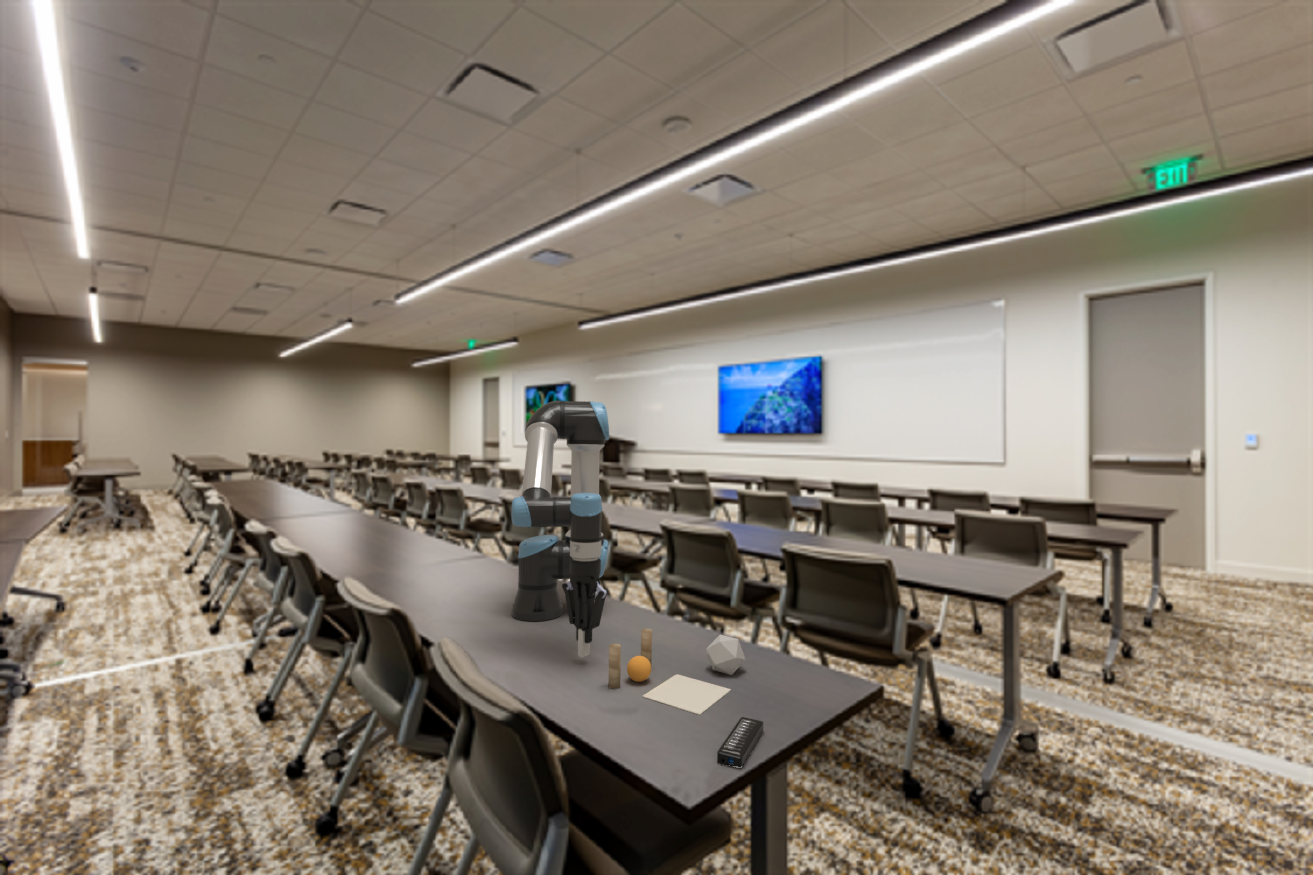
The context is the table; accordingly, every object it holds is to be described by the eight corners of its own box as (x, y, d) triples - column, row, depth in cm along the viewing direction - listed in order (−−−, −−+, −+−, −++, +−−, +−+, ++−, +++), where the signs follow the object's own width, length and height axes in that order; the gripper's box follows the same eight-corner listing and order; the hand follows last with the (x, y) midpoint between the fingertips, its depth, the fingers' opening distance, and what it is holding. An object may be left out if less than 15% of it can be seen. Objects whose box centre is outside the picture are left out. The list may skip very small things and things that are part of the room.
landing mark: (676, 674, 140) (676, 674, 140) (731, 690, 132) (731, 689, 132) (642, 696, 128) (642, 695, 128) (699, 715, 121) (699, 714, 121)
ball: (632, 661, 141) (645, 647, 139) (647, 681, 139) (660, 667, 137) (618, 670, 136) (630, 655, 134) (633, 690, 134) (646, 676, 132)
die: (751, 672, 144) (738, 633, 149) (745, 666, 137) (732, 625, 142) (718, 683, 145) (707, 643, 150) (711, 677, 138) (699, 635, 143)
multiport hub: (763, 733, 115) (763, 721, 115) (741, 771, 102) (741, 758, 102) (741, 727, 117) (741, 716, 117) (716, 765, 104) (716, 752, 104)
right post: (644, 664, 146) (645, 627, 146) (653, 667, 144) (654, 629, 144) (638, 668, 144) (639, 630, 143) (647, 671, 142) (648, 632, 142)
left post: (613, 682, 135) (613, 642, 135) (622, 685, 134) (623, 645, 134) (606, 686, 133) (606, 646, 133) (615, 689, 132) (616, 648, 132)
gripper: (554, 556, 146) (553, 653, 147) (596, 564, 139) (595, 666, 140) (575, 551, 153) (573, 644, 153) (616, 558, 146) (614, 656, 146)
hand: (583, 654), depth 146 cm, fingers closed
